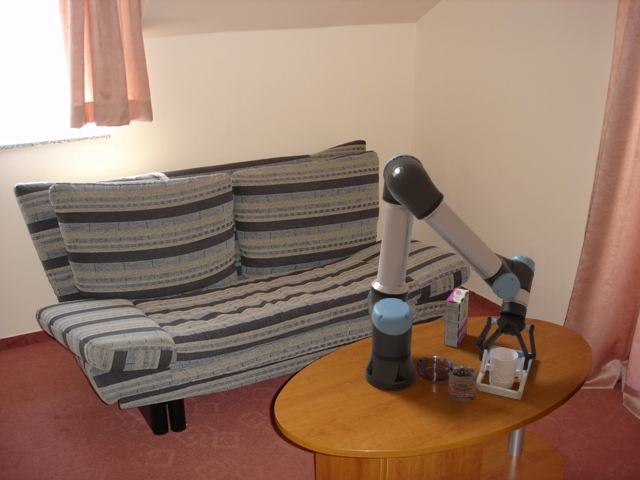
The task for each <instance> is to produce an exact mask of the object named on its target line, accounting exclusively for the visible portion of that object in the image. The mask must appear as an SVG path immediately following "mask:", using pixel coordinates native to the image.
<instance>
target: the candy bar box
mask: <svg viewBox="0 0 640 480" xmlns="http://www.w3.org/2000/svg"><path fill="white" fill-rule="evenodd" d="M469 295H470V290H468V289H463V288H457V287H455V288H454V289H453V291H452V292H451V294H450V295H449V296H448V297H447V299H446V300H445V320H444V342H443V344H444V346H445V347H452V348H459V347H460V345H461V343H462V342H463V340H464V338H465V337H466V335H467V334H468V330H467V329H468V314H469V298H470V296H469Z"/></svg>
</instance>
